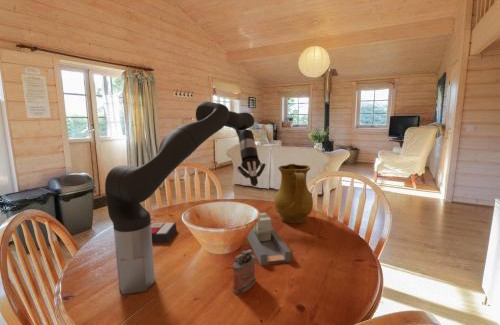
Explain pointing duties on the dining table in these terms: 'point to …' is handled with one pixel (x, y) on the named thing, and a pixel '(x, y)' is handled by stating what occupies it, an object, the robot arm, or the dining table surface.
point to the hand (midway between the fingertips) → (254, 185)
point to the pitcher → (293, 194)
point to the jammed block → (263, 228)
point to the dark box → (162, 232)
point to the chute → (269, 249)
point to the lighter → (244, 272)
